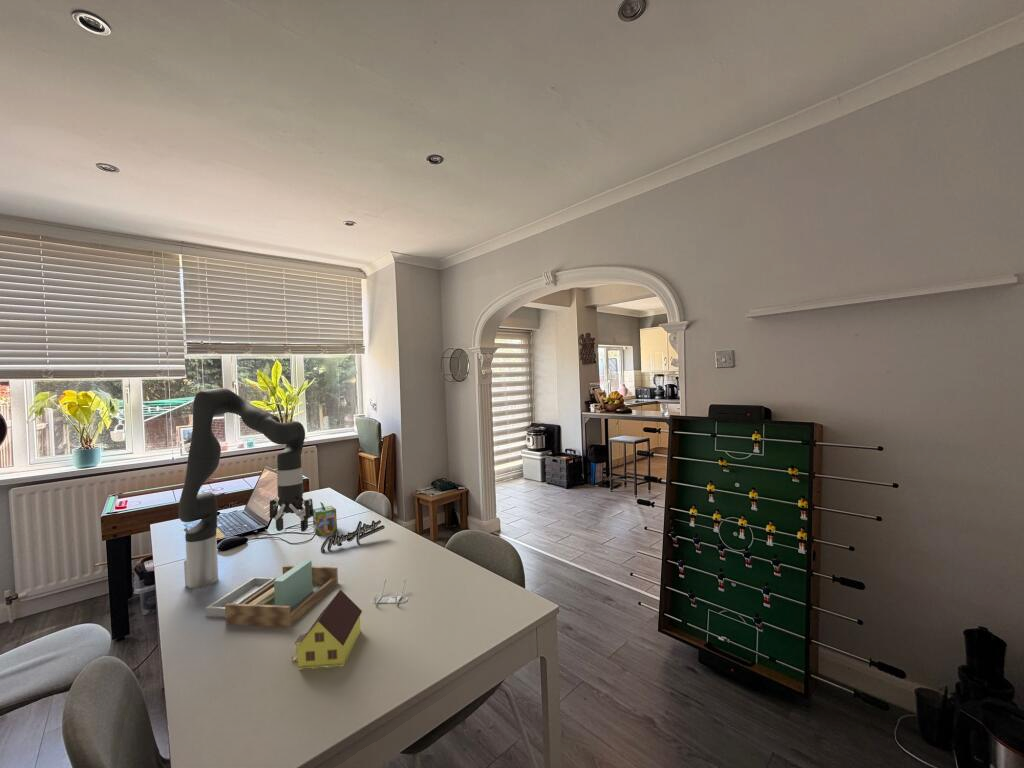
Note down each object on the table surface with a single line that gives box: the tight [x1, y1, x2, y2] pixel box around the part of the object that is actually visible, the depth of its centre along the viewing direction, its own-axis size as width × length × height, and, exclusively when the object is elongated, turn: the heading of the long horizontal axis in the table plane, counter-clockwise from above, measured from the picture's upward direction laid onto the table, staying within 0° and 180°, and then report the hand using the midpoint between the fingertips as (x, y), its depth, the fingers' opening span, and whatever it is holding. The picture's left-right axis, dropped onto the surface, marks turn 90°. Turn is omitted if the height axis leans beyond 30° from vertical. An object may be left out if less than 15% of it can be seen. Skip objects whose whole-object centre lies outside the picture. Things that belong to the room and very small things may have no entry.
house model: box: [291, 589, 363, 670], centre depth 115 cm, size 18×20×13 cm
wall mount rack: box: [370, 578, 409, 605], centre depth 141 cm, size 12×11×4 cm
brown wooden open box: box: [225, 565, 339, 628], centre depth 141 cm, size 21×27×6 cm
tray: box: [205, 576, 277, 618], centre depth 143 cm, size 9×21×3 cm, turn 172°
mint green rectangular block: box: [274, 559, 314, 610], centre depth 140 cm, size 3×15×11 cm, turn 172°
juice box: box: [312, 502, 338, 537], centre depth 206 cm, size 9×9×15 cm
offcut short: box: [249, 587, 274, 605], centre depth 139 cm, size 2×11×2 cm, turn 169°
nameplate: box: [320, 519, 385, 553], centre depth 188 cm, size 28×2×10 cm, turn 122°
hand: (292, 530), depth 140 cm, fingers open, 8 cm apart
